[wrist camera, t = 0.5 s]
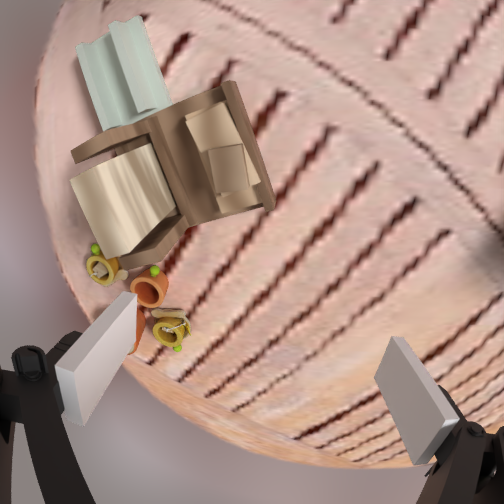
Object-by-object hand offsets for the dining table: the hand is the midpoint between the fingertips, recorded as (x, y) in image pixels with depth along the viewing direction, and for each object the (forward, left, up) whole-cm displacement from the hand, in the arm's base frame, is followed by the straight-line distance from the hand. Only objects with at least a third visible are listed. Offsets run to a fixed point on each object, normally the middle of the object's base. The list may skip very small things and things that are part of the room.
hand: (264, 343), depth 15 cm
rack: (+11, -6, -28) cm, 31 cm away
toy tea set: (+28, +8, -29) cm, 41 cm away
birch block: (+16, -6, -27) cm, 32 cm away
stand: (+16, -21, -28) cm, 39 cm away
